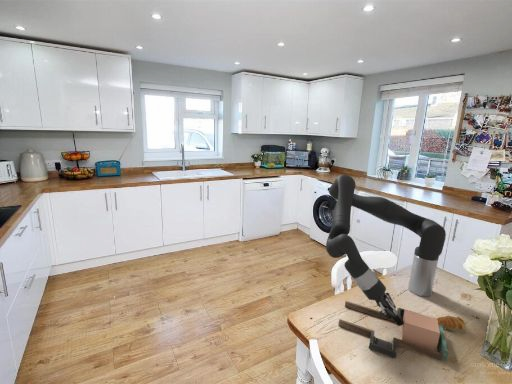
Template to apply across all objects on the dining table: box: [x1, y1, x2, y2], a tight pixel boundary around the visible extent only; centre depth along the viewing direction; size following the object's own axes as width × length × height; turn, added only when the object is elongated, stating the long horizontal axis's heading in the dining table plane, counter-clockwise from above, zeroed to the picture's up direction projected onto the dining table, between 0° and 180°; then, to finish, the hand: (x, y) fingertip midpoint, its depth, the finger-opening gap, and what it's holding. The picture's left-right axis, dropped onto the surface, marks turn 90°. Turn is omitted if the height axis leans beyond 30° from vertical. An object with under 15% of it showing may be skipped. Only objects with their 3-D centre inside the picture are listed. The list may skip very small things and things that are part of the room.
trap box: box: [338, 300, 449, 363], centre depth 99 cm, size 27×33×4 cm
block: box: [401, 309, 440, 351], centre depth 95 cm, size 8×10×8 cm
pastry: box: [436, 315, 468, 334], centre depth 103 cm, size 9×7×4 cm
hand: (401, 324), depth 97 cm, fingers closed
